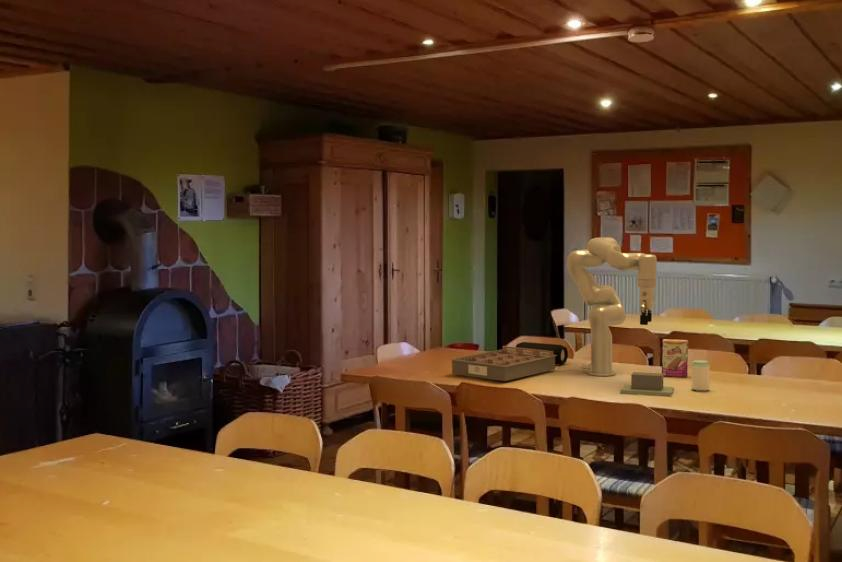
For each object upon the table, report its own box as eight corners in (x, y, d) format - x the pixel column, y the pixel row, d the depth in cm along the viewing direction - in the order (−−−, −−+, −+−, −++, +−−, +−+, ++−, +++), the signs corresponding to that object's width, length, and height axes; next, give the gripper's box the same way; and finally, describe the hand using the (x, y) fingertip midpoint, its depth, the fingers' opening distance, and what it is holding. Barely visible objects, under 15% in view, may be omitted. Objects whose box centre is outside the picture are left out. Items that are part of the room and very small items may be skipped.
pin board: (620, 393, 348) (620, 381, 348) (624, 388, 360) (624, 376, 359) (671, 396, 341) (671, 384, 341) (674, 390, 352) (674, 378, 352)
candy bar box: (661, 376, 384) (661, 340, 383) (662, 374, 389) (662, 339, 388) (687, 377, 380) (687, 341, 379) (688, 375, 385) (688, 339, 384)
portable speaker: (513, 362, 430) (513, 342, 429) (523, 359, 438) (522, 340, 438) (560, 366, 416) (559, 346, 415) (568, 363, 424) (568, 343, 423)
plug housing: (631, 388, 350) (631, 374, 349) (633, 386, 355) (633, 372, 355) (661, 390, 345) (661, 375, 345) (663, 387, 351) (663, 373, 350)
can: (712, 391, 350) (712, 362, 349) (695, 391, 349) (695, 362, 348) (705, 388, 357) (705, 359, 356) (688, 388, 356) (689, 360, 355)
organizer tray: (449, 376, 394) (449, 355, 394) (503, 365, 423) (503, 345, 423) (505, 384, 373) (504, 362, 372) (557, 372, 401) (557, 351, 401)
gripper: (652, 285, 355) (651, 326, 356) (658, 281, 371) (657, 321, 372) (634, 284, 358) (633, 325, 359) (641, 281, 374) (640, 319, 375)
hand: (645, 323), depth 366 cm, fingers open, 9 cm apart
